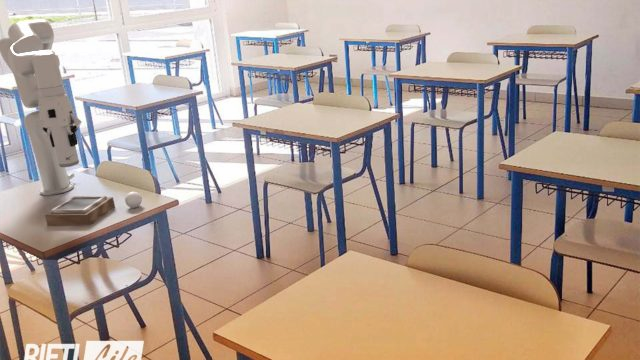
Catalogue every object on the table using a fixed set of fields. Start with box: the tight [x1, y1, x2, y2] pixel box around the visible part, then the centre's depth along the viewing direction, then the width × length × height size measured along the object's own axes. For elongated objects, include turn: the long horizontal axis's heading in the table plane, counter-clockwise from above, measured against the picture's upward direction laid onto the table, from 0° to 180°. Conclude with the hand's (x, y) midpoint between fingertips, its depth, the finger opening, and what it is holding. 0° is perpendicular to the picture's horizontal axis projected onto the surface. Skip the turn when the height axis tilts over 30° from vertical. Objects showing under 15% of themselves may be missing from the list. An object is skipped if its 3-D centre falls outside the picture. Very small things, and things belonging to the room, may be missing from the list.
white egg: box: [124, 191, 143, 209], centre depth 223 cm, size 8×6×6 cm
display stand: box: [44, 195, 116, 227], centre depth 218 cm, size 16×16×5 cm
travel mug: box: [47, 109, 80, 168], centre depth 210 cm, size 6×7×20 cm
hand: (65, 145), depth 211 cm, fingers closed on travel mug, 6 cm apart
